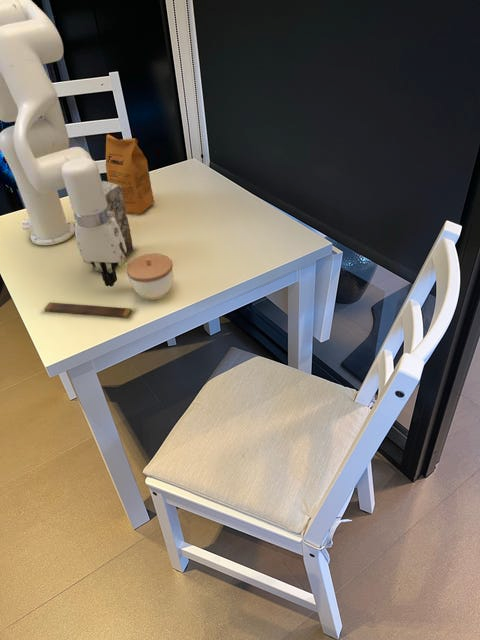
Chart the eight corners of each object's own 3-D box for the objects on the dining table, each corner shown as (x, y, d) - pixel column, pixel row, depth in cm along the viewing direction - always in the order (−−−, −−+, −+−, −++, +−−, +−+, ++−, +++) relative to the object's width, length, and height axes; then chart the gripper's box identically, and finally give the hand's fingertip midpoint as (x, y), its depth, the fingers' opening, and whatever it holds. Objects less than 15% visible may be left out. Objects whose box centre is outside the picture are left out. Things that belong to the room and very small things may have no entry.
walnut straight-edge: (45, 311, 123) (44, 308, 122) (50, 304, 125) (49, 302, 124) (128, 318, 118) (127, 315, 118) (132, 311, 120) (131, 308, 120)
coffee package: (130, 196, 168) (114, 128, 154) (159, 203, 163) (146, 133, 149) (108, 209, 162) (91, 139, 148) (138, 217, 156) (123, 145, 143)
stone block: (113, 275, 132) (93, 204, 120) (89, 272, 135) (68, 201, 122) (137, 249, 142) (121, 180, 129) (115, 246, 144) (97, 178, 131)
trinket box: (169, 306, 120) (163, 273, 115) (126, 304, 123) (117, 271, 117) (182, 280, 129) (176, 248, 123) (141, 278, 131) (134, 246, 125)
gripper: (130, 208, 116) (145, 276, 128) (69, 206, 119) (89, 272, 131) (117, 225, 110) (134, 294, 122) (54, 222, 113) (76, 290, 125)
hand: (111, 283), depth 126 cm, fingers closed
